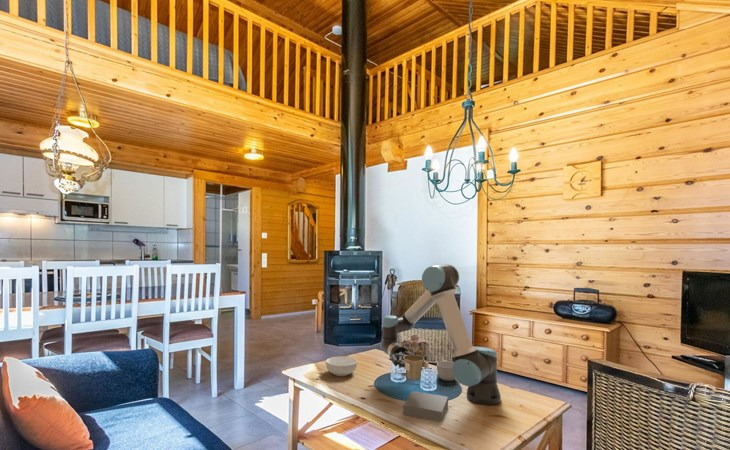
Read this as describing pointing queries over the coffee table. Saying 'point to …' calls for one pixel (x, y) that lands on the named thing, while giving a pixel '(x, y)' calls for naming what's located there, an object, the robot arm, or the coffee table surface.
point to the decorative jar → (416, 346)
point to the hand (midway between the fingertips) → (418, 366)
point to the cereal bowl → (341, 365)
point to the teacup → (445, 370)
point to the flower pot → (414, 366)
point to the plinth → (426, 406)
